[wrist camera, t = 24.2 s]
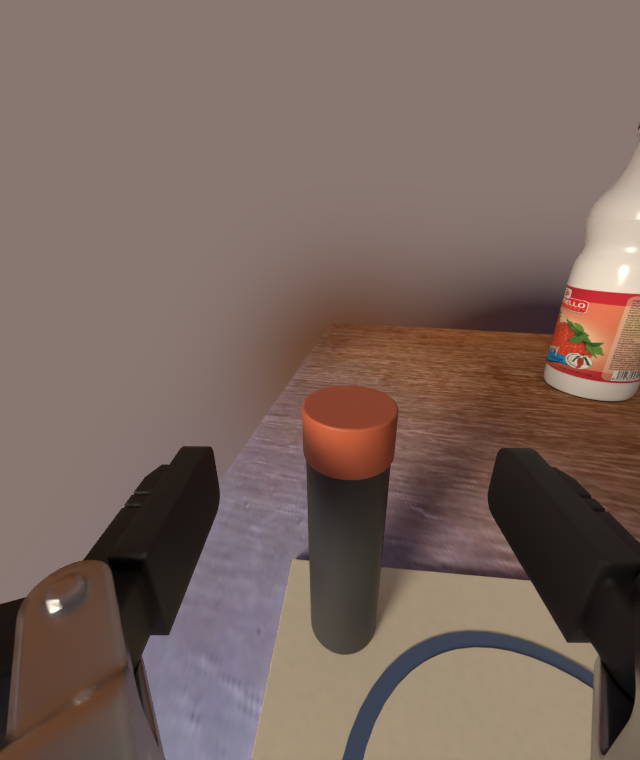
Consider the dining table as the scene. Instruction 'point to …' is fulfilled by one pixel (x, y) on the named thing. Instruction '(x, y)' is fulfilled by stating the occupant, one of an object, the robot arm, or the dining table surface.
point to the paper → (430, 677)
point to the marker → (347, 509)
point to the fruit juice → (603, 301)
